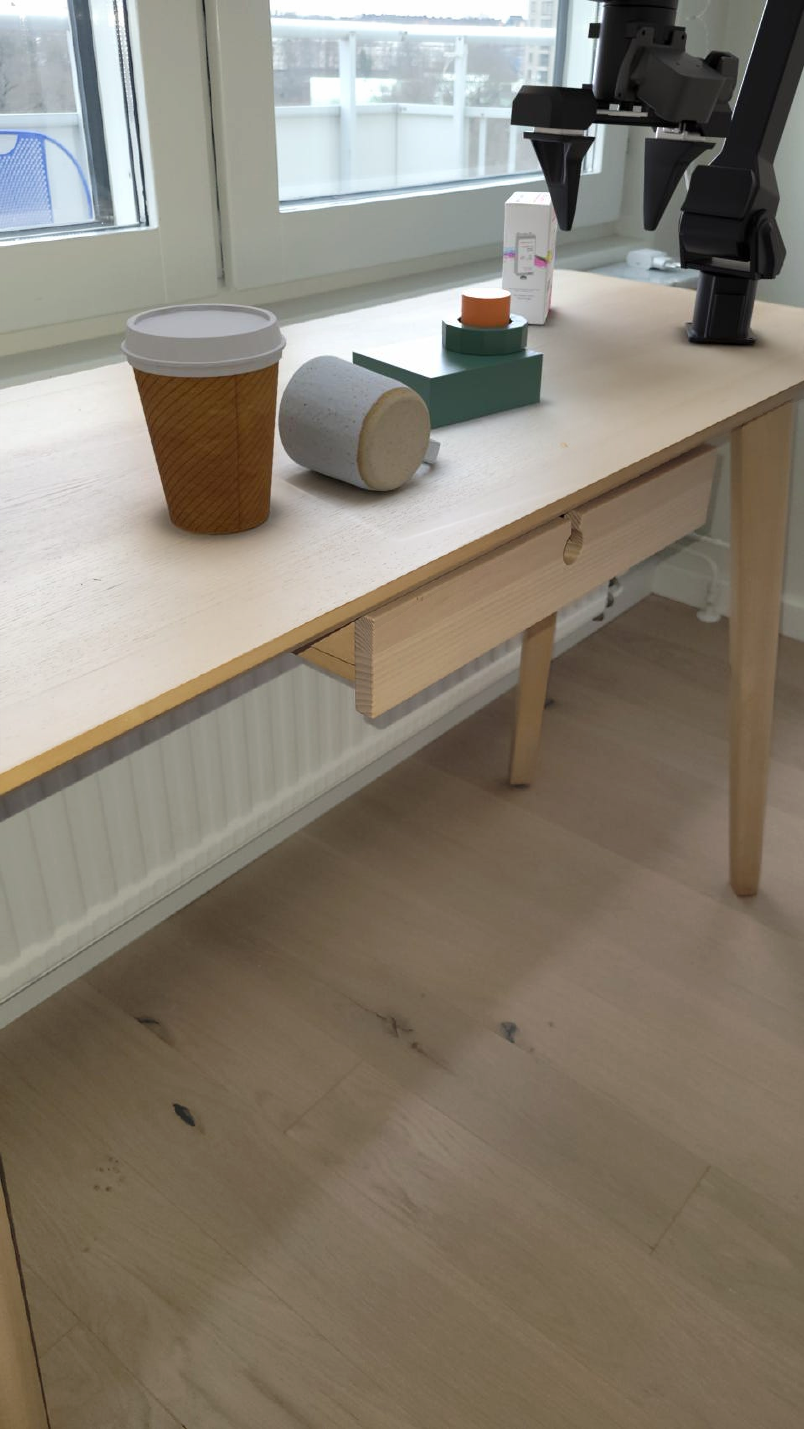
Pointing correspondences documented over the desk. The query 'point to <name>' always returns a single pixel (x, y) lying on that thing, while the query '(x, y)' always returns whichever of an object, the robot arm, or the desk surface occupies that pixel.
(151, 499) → the desk surface
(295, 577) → the desk surface
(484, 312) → the orange squat cylinder
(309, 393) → the ceramic mug
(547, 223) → the ink cartridge box
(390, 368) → the green button base
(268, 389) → the disposable coffee cup
